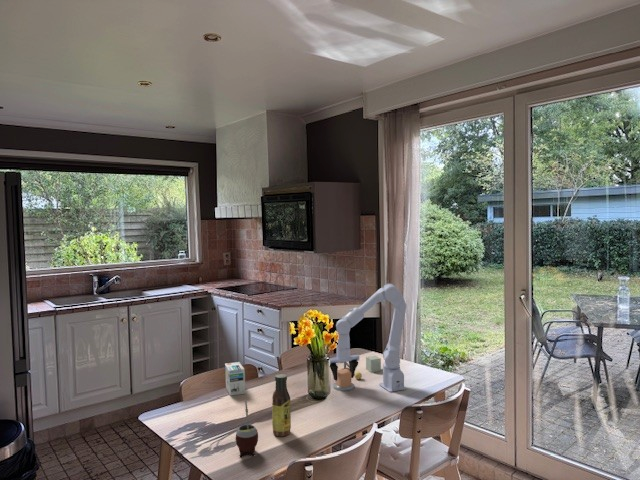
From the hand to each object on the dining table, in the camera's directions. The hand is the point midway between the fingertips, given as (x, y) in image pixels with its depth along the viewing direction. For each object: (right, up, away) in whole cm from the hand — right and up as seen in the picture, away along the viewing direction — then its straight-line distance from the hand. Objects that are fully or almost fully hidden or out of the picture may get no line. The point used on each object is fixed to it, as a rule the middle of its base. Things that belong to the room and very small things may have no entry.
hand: (343, 378), depth 201 cm
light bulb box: (-46, -5, -2) cm, 47 cm away
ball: (+7, -3, +10) cm, 12 cm away
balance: (+2, -3, +20) cm, 20 cm away
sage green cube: (+15, -2, +21) cm, 26 cm away
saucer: (0, -4, 0) cm, 4 cm away
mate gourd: (-33, -8, -54) cm, 64 cm away
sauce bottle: (-23, -7, -41) cm, 48 cm away
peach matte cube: (0, -3, 0) cm, 3 cm away
